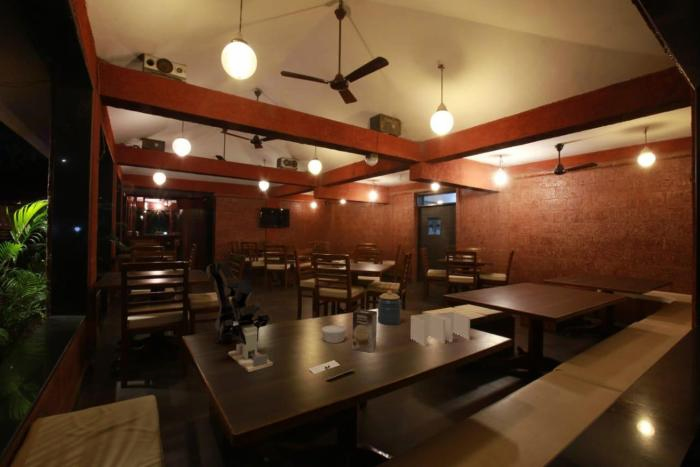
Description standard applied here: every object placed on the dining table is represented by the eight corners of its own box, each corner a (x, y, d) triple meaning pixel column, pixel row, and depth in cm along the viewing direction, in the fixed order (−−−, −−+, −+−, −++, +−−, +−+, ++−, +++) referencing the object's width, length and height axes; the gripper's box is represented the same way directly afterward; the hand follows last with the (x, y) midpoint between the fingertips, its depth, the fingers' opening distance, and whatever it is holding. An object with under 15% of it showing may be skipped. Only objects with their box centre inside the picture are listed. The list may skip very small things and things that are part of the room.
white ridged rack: (235, 352, 127) (235, 344, 127) (247, 349, 130) (247, 341, 130) (254, 367, 113) (254, 358, 113) (267, 363, 116) (267, 354, 116)
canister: (376, 324, 171) (377, 291, 171) (378, 318, 183) (378, 287, 183) (401, 326, 168) (401, 292, 168) (401, 319, 181) (401, 288, 181)
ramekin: (317, 342, 143) (317, 330, 143) (328, 334, 153) (328, 323, 153) (340, 345, 139) (340, 333, 138) (349, 337, 149) (349, 326, 149)
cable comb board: (228, 354, 127) (228, 351, 127) (250, 349, 133) (250, 346, 133) (249, 371, 111) (249, 369, 111) (272, 365, 117) (272, 362, 117)
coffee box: (351, 349, 134) (351, 311, 134) (357, 344, 140) (357, 308, 140) (371, 353, 130) (372, 314, 130) (377, 348, 136) (377, 310, 136)
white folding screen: (453, 333, 157) (454, 311, 157) (469, 340, 147) (470, 317, 147) (410, 339, 148) (410, 315, 148) (424, 347, 138) (424, 321, 138)
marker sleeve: (242, 356, 122) (242, 327, 122) (253, 353, 125) (254, 325, 125) (245, 359, 119) (246, 329, 119) (257, 356, 122) (257, 327, 122)
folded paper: (334, 363, 121) (334, 357, 121) (355, 374, 112) (355, 368, 112) (307, 372, 113) (307, 366, 113) (328, 384, 104) (328, 378, 104)
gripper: (222, 299, 119) (232, 336, 110) (268, 294, 131) (280, 327, 122) (215, 316, 125) (224, 352, 116) (260, 309, 137) (271, 341, 129)
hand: (251, 342), depth 121 cm, fingers closed on marker sleeve, 4 cm apart
